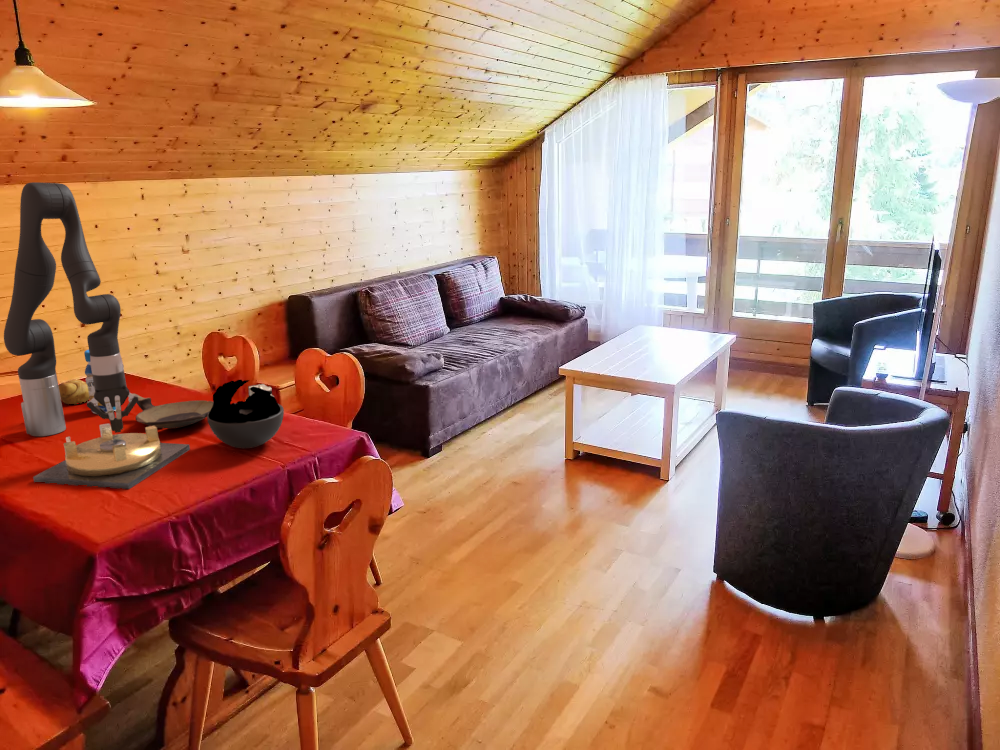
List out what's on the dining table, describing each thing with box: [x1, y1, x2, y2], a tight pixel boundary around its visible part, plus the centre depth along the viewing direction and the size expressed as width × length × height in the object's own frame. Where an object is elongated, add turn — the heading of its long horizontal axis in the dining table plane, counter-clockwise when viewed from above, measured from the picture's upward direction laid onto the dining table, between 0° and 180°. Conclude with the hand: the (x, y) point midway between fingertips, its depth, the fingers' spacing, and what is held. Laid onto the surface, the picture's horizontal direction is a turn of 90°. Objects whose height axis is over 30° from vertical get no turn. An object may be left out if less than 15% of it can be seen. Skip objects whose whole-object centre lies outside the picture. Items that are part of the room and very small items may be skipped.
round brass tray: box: [63, 422, 161, 476], centre depth 190 cm, size 22×22×6 cm
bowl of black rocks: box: [206, 379, 285, 449], centre depth 202 cm, size 20×20×19 cm
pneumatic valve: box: [247, 383, 276, 399], centre depth 221 cm, size 6×12×12 cm, turn 32°
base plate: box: [32, 436, 191, 490], centre depth 191 cm, size 26×26×8 cm
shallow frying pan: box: [133, 393, 214, 429], centre depth 223 cm, size 22×30×8 cm
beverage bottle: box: [84, 349, 116, 415], centre depth 232 cm, size 8×8×20 cm
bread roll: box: [58, 379, 90, 405], centre depth 244 cm, size 13×10×8 cm
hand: (118, 431), depth 199 cm, fingers closed
